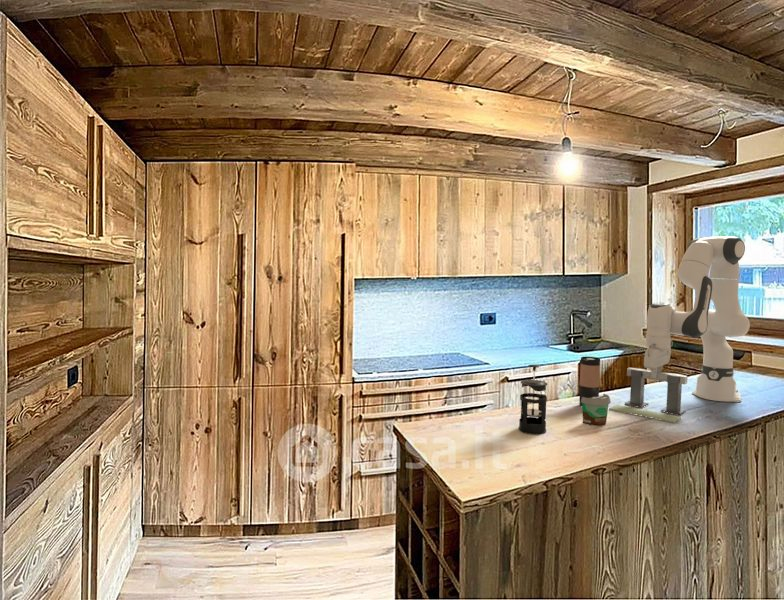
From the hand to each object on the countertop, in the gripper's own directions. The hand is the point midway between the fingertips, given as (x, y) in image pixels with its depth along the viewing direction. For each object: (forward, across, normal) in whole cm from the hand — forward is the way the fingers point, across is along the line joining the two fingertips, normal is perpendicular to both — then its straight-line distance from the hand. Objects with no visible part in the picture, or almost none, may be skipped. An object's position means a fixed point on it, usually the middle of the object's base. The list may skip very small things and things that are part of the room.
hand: (656, 376), depth 210 cm
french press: (+13, -62, +20) cm, 66 cm away
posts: (+13, 0, 0) cm, 13 cm away
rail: (+1, 0, 0) cm, 1 cm away
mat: (+13, -12, 0) cm, 18 cm away
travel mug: (+13, -17, +20) cm, 29 cm away
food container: (+13, -38, +7) cm, 41 cm away
